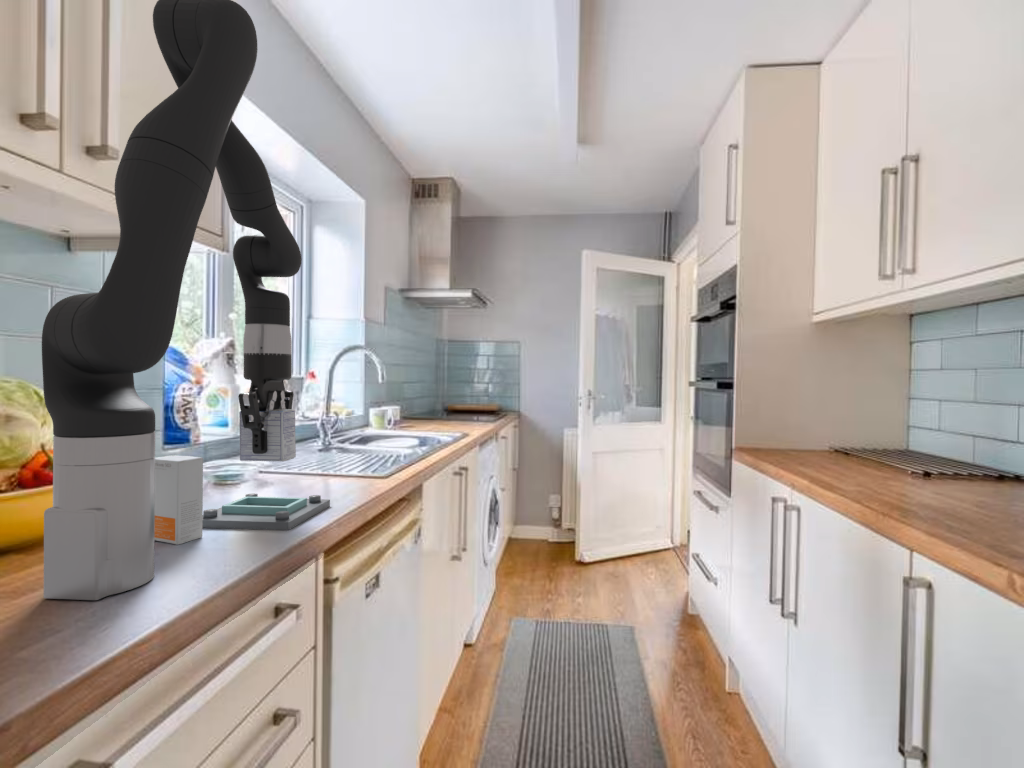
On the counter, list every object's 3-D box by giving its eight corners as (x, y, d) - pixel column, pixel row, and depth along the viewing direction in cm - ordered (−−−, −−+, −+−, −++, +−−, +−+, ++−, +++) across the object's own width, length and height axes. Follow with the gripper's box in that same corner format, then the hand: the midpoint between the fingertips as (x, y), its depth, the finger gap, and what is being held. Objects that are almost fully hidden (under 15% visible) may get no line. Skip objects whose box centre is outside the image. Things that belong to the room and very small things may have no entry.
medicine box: (296, 458, 93) (296, 409, 93) (282, 462, 89) (282, 410, 88) (254, 457, 94) (254, 408, 94) (238, 461, 89) (238, 410, 89)
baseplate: (288, 530, 83) (288, 514, 83) (190, 527, 84) (190, 512, 84) (329, 505, 99) (330, 493, 99) (247, 503, 100) (247, 491, 100)
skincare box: (146, 540, 77) (147, 458, 77) (174, 532, 81) (175, 454, 81) (177, 545, 75) (177, 460, 74) (204, 537, 79) (204, 456, 78)
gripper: (266, 350, 83) (267, 458, 84) (308, 353, 98) (308, 446, 98) (221, 350, 84) (221, 457, 84) (268, 353, 98) (269, 445, 99)
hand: (268, 450), depth 91 cm, fingers closed on medicine box, 4 cm apart
